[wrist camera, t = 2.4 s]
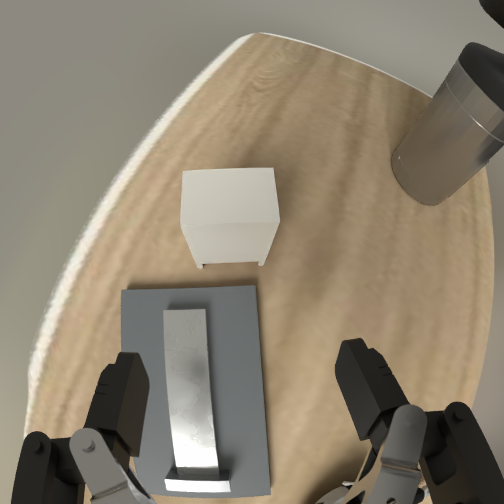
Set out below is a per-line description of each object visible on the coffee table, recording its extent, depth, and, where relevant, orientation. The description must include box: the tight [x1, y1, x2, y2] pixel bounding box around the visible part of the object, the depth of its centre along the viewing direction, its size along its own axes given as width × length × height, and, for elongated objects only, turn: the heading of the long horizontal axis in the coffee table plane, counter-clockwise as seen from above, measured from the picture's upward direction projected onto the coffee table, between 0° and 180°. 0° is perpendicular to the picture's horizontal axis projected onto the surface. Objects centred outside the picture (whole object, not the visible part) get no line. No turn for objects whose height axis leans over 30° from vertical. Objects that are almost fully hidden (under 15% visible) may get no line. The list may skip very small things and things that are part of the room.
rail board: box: [121, 285, 271, 498], centre depth 21 cm, size 12×20×1 cm, turn 4°
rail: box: [163, 309, 231, 492], centre depth 19 cm, size 5×16×2 cm, turn 4°
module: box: [180, 168, 280, 269], centre depth 22 cm, size 6×4×9 cm
